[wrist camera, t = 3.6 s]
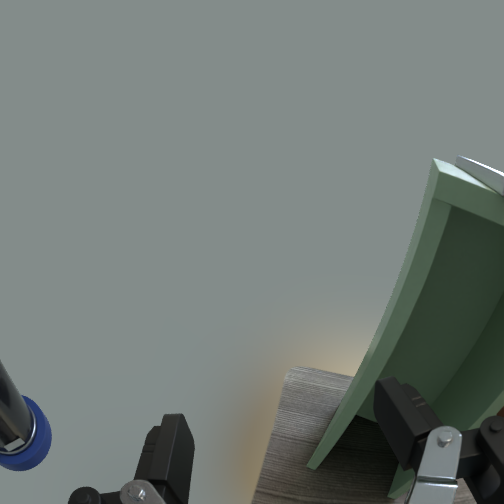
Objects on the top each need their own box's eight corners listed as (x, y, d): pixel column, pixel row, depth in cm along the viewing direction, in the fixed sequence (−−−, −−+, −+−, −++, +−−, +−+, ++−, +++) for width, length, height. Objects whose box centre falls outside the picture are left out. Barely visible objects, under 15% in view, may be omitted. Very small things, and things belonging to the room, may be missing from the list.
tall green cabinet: (393, 502, 22) (601, 249, 8) (303, 469, 27) (439, 170, 13) (416, 429, 32) (542, 204, 17) (341, 401, 37) (432, 157, 22)
